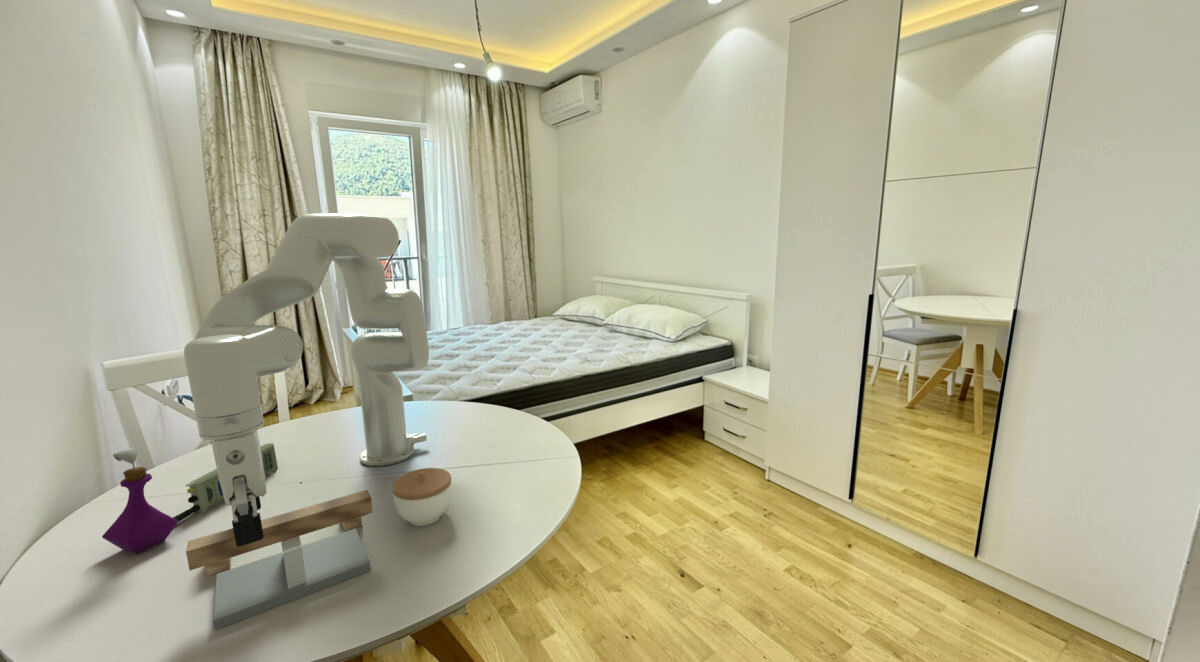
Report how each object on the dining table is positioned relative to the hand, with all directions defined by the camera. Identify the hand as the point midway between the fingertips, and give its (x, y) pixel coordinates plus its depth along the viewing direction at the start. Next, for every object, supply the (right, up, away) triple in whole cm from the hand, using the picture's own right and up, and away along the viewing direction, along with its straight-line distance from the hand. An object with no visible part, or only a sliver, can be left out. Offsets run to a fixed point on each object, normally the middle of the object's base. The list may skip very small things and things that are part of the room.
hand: (249, 526), depth 72 cm
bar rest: (-3, -8, +14) cm, 16 cm away
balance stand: (+4, -10, +4) cm, 12 cm away
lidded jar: (+19, -7, +21) cm, 29 cm away
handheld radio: (-27, -6, +30) cm, 41 cm away
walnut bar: (+4, -3, +3) cm, 6 cm away
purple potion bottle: (-29, -9, +13) cm, 33 cm away
